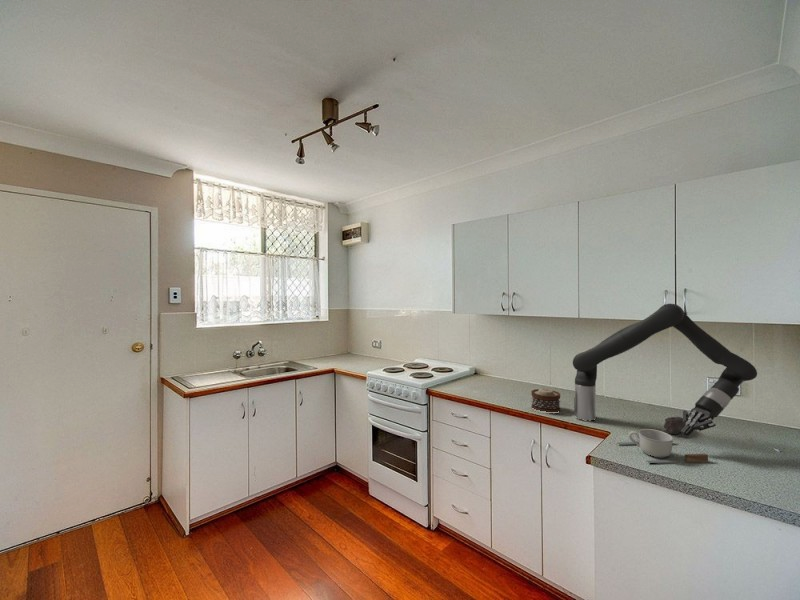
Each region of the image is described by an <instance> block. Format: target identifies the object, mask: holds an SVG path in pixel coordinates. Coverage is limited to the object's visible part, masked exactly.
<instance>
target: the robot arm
mask: <svg viewBox="0 0 800 600" xmlns="http://www.w3.org/2000/svg"><path fill="white" fill-rule="evenodd" d="M672 327H673V328H674V329H676V330H677V331H679V332H680V333H681V334H682V335H684V336H685V338H687V339H688V341H690V343H692V344H693V346H695V347H696V348H697V349H698V350H699V352H701V353H702V354H703V355H704V356H706V357H707V358H708V359H709V360H711V362H713V363H714V364H716V365H722V366H723V367H725V369H723V371H722V372H721V373H720V375H719V377H718V379H717V381H715V383H714V384H713V385H711V387H710V388H709V389H708V390H706V392H704V393H703V394H702V396H701V397H700V398H699V399H698V400H697V401H696V402H695V403H694V405H695V406H694V407H693V408H692V409H690V410H689V411H688V410H686V409H684V410H683V411H682V418H683V422H684V423H685V426H684V427H683V428H682V429H681V432H680V433H681V434H682V435H683V436H685V437H689V436H690V435H692V433H693V432H695V431H699V432H701V431H705V430H708V429H711V428H714V427H716V426H717V425H716V423H715V422H714V419H715V418H717V417H718V416H719V415H720V414H721V413H722V412H723V411H724V410H725V409H726V408H727V407H728V405H730V402H731V401H732V400H733V399H734V397H735V396H736V395H737V394H738V393H739V391H740V388H739V387H740V385H741V384H742V383H743V382H746V381H747V382H748V381H752V380H754V379H756V378H757V376H758V371H757V368H756V366H754V365H753V364H752V363H751V362H750V361H748V360H746V359H744V358H743V357H741V356H739V355H737V354H736V353H734V352H732V351H730V350H729V349H728V348H727V347H726V346H724V345H723V344H722V343H720V341H718V340H717V339H715V338H714V337H713V336H712V335H710V334H709V333H707V332H706V331H705V330H704V329H702V328H701V327H700V326H699V325H698V324H696V323H695V322H694V321H693V319H691V318H690V316H688V314H687V313H686V312H685V311H684V309H683V308H682V307H681V306H680V305H678V304H675V303H666V304H663V305H662V306H660V307H659V308H658V309H657V310H656V311H654V312H653V313H652V314H649V316H647V317H646V318H644V319H642V320H641V321H638V322H635V323H633V324H630V325H628V326H625V327H624V328H622V329H620V330H618V331H616V332H614V333H612V334H611V335H610V336H608V337H607V338H605V339H603V340H602V341H601V342H600V343H598V344H597V345H596V346H594V347H592V348H589V349H588V350H586V351H583V352H580V353H579V352H578V353H577V354H576V355H575V356H574V357H573V360H572V366H573V368H574V369H575V370H576V375H575V377H574V397H573V398H574V399H573V403H574V404H573V405H574V406H573V407H574V408H573V410H574V411H573V413H574V414H575V416H576V417H577V418H579V419H584V420H594V419H596V418H597V416H596V415H597V414H596V413H597V412H596V411H597V408H596V407H597V406H596V405H597V404H596V403H597V401H596V397H597V395H596V392H597V391H596V387H597V386H596V382H597V378H598V377H597V376H598V374H597V373H598V365H599V364H600V363H602V362H603V361H605V360H608V359H611V358H613V357H615V356H619V355H620V354H623V353H625V352H627V351H629V350H631V349H633V348H635V347H637V346H639V345H640V344H642V343H644V341H647V339H649V338H651V337H652V336H654V335H655V334H657V333H660V332H662V331H665V330H667V329H669V328H672ZM575 416H574V417H575ZM579 419H578V420H579Z"/></svg>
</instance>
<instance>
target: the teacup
mask: <svg viewBox="0 0 800 600" xmlns="http://www.w3.org/2000/svg"><path fill="white" fill-rule="evenodd" d="M632 435H636V436H637V439H638V441H637V440H635V439H634V438H633V437H632ZM628 438H629V440H630V442H634V443H635V444H637V445H636V446H637V447H638V448H640V449H641V450H642V451H643V452H644V454H646V455H648V456H650V455H651V456H650V457H652V456H654V457H653V458H657V457H658V459H663V458H666V457H669V456H671V454H672V451H673V441H674V440H673V439H674V438H673V436H671V435H670V433H668V432H666V431H662V430H661V431H660V430H658V429H652V428H651V429H650V428H643V429H639V430H638V432H637V431H635V430H634V431H633V430H632V431H630V432H629V433H628Z"/></svg>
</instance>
